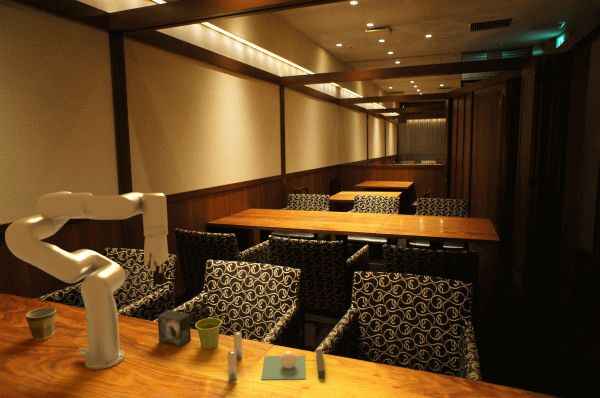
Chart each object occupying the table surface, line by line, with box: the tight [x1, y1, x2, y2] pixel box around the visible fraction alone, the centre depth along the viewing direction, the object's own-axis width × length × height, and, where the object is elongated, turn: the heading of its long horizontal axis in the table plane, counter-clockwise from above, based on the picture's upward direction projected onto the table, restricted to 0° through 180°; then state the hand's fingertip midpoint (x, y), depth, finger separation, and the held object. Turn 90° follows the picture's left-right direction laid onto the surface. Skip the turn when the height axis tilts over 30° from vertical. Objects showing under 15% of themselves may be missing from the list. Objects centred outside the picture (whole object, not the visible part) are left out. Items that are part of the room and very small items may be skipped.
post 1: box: [227, 349, 238, 383], centre depth 124 cm, size 3×3×9 cm
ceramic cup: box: [25, 306, 57, 341], centre depth 155 cm, size 13×10×10 cm
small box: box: [157, 309, 192, 348], centre depth 150 cm, size 11×6×10 cm, turn 68°
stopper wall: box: [315, 349, 326, 379], centre depth 131 cm, size 2×13×2 cm, turn 1°
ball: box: [280, 350, 297, 369], centre depth 131 cm, size 6×6×6 cm
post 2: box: [233, 331, 243, 361], centre depth 137 cm, size 3×3×9 cm
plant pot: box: [194, 317, 223, 350], centre depth 146 cm, size 9×9×9 cm
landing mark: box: [260, 355, 307, 381], centre depth 131 cm, size 14×14×1 cm
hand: (159, 283), depth 134 cm, fingers closed
